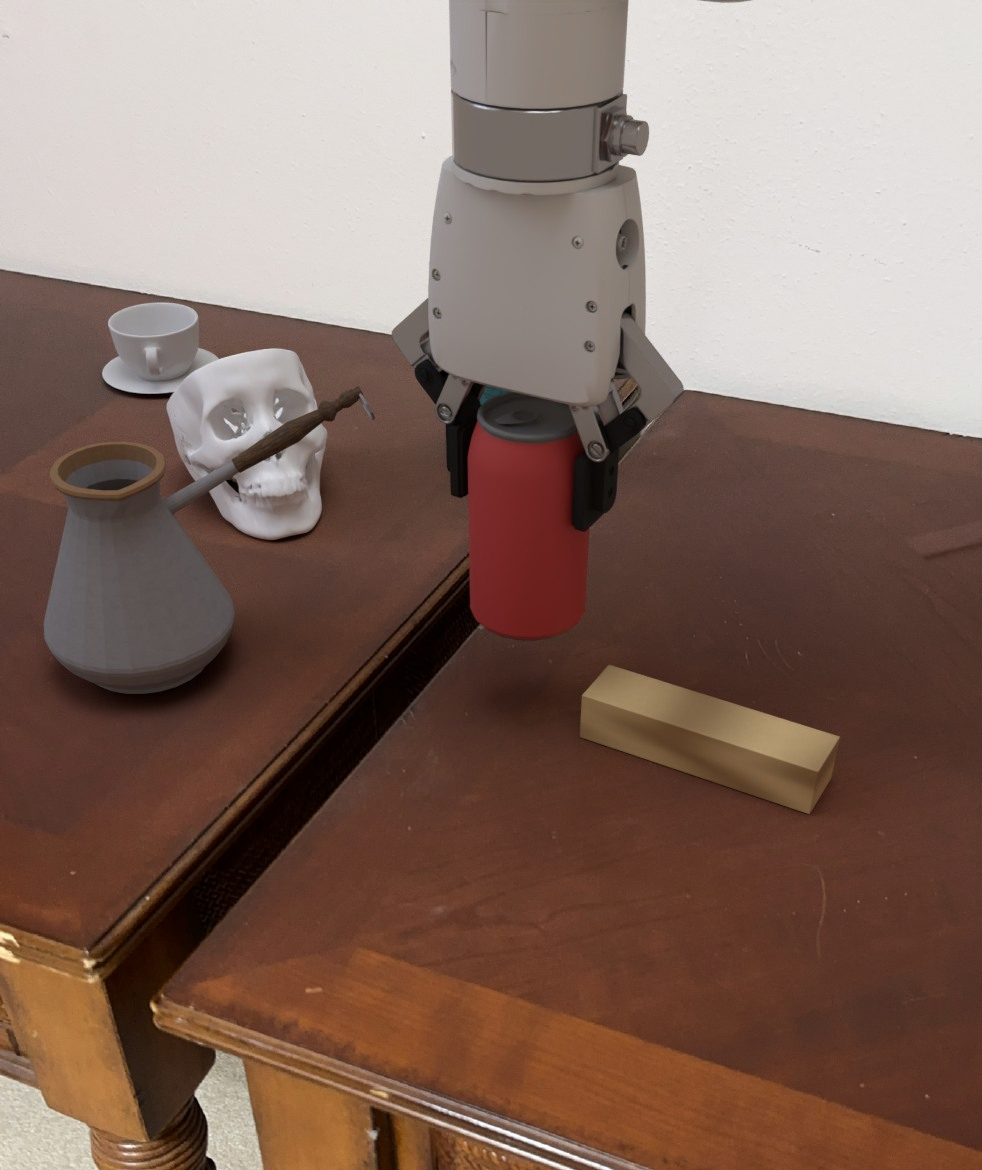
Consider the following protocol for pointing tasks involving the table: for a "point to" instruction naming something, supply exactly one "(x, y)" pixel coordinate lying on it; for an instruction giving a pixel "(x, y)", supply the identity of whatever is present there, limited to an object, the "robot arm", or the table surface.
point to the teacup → (154, 348)
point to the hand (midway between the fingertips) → (529, 500)
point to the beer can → (525, 519)
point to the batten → (709, 738)
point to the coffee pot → (144, 564)
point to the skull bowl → (252, 439)
